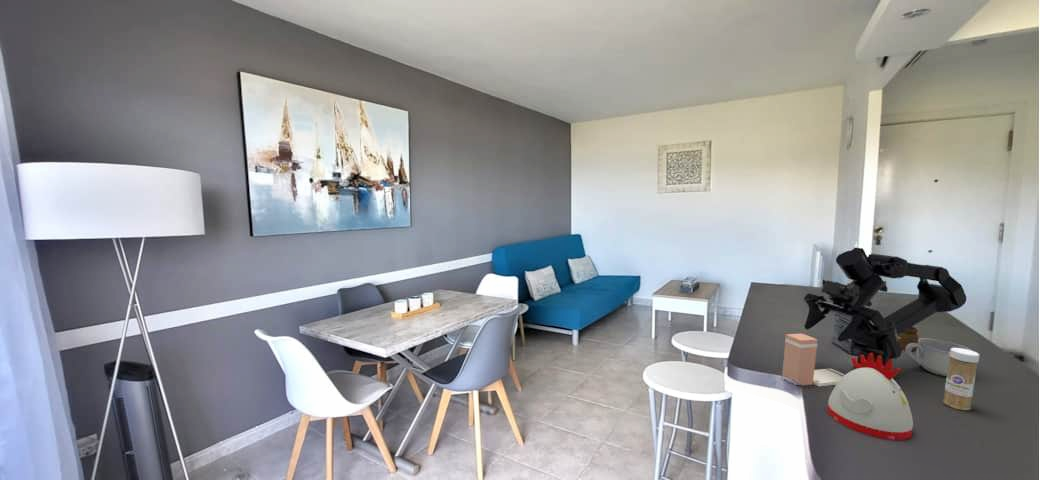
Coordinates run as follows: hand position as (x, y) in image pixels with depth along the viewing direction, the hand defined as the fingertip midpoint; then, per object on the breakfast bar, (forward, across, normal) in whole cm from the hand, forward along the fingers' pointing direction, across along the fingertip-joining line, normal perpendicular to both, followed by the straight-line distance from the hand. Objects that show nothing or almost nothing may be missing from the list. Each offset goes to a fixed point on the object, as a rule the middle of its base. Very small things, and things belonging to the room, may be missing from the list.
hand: (821, 334), depth 106 cm
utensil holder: (-27, -14, +44) cm, 54 cm away
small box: (-13, -16, +31) cm, 37 cm away
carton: (+13, 0, +4) cm, 14 cm away
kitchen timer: (+14, +19, +4) cm, 24 cm away
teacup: (-18, +2, +36) cm, 40 cm away
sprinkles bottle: (-5, +18, +23) cm, 29 cm away
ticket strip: (+7, 0, +11) cm, 13 cm away
